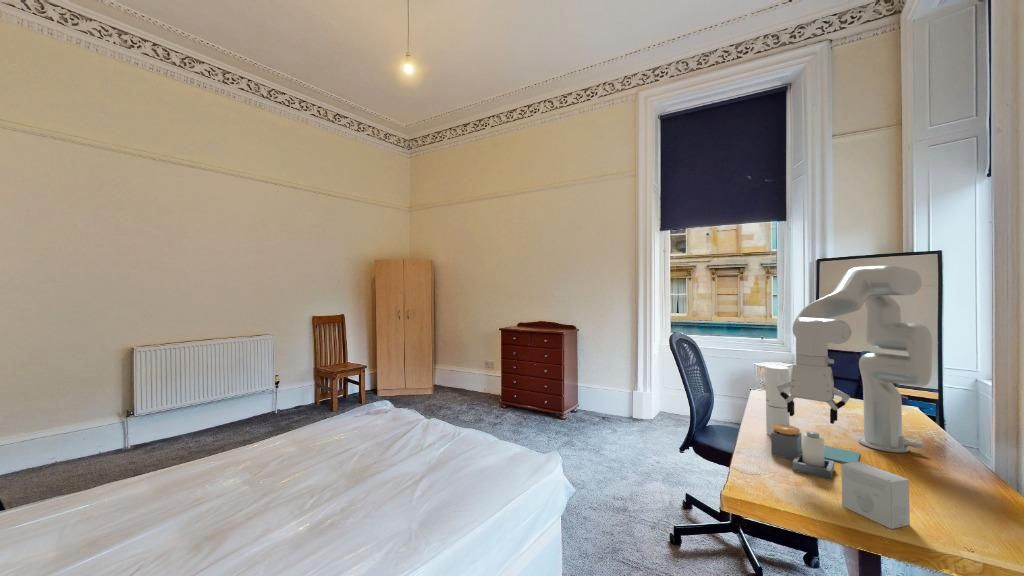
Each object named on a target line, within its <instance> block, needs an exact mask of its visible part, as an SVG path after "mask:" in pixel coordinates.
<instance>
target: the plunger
mask: <svg viewBox="0 0 1024 576" xmlns="http://www.w3.org/2000/svg"><path fill="white" fill-rule="evenodd" d="M773 429H774V430H775V431H777V432H779V433H780V434H784V435H789V436H793V435H797V434H800V433H801V432H800V428H798V427H797V426H793V425H784V424H776V425H774V426H773Z"/></svg>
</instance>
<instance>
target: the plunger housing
mask: <svg viewBox="0 0 1024 576" xmlns="http://www.w3.org/2000/svg"><path fill="white" fill-rule="evenodd" d="M802 434H803V432H800V434H797V435H793V436H789V435H784V434H780V433H779V432H777V431H775V430H773V432H772V433H771V436H770V439H771V443H770V444H771V446H770V447H771V450H770V451H771V455H772V456H775V455H776V457H780V458H784V459H789V460H792V461H793V460H794V459H795V457H796V456H797V454H798V453H800V454H802Z"/></svg>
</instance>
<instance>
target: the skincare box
mask: <svg viewBox="0 0 1024 576" xmlns="http://www.w3.org/2000/svg"><path fill="white" fill-rule="evenodd" d="M840 464H841V466H840V467H841V498H842V499H841V506H842V508H845V509H847V510H850V511H853V512H854V513H856V514H858V515H860V516H862V517H865V518H867V519H869V520H871V521H873V522H875V523H877V524H879V525H882V526H884V527H886V528H888V529H890V530H893V529H894V530H895V529H898V528H902V527H906V526H909V525H911V522H910V521H911V520H910V518H911V517H910V479H909V478H906V477H903V476H900V475H898V474H894V473H893V472H889V471H886V470H883V469H880V468H877V467H876V466H872V465H869V464H866V463H865V462H861V461H858V462H851V463H840Z"/></svg>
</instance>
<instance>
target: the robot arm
mask: <svg viewBox="0 0 1024 576" xmlns="http://www.w3.org/2000/svg"><path fill="white" fill-rule="evenodd" d="M922 281H923V280H922V277H921V275H920V274H919V272H917V271H916V270H915V269H912V268H908V267H904V266H898V265H889V264H888V265H869V266H868V265H867V266H856V267H852V268H850V269H848V270H846V272H845V273H844V274H843V276H842V277H841V279H840V280H839V282H838V283H837V284H836V286H835V287H834V288H833V290H832V292H831V293H830V294H828V295H825V296H823V297H820V298H819V299H817V300H815V301H813V302H811V303H809V304H807V305H806V306H805V307H803V308H802V309H801V311H800V312H799V313H798V315H797V316H796V318H795V320H794V322H793V324H792V334H793V336H794V337H795V363H793V365H792V368H791V375H790V381H789V382H788V383H785V384H781V385H778V386H777V389H778V391H779V392H780V395H781V396H782V397H783V398H784V399H785V400H786V402H787V412H789V417H793V416H794V415H795V401H794V399H796V398H797V399H803V400H809V401H816V402H822V403H827V404H828V405H829V406H830V409H829V423H830V424H831V425H834V424H835V422H837V421H838V410H840V409H841V408H842V407H844V406H845V405H846V404H847V402H849V400H850V398H851V397H850V395H849V394H847V393H845V392H843V391H842V390H839V388H836V387H835V386H834V385H835V384H834V375H833V370H832V367H831V366H828V365H831V364H832V365H834V364H835V360H834V359H831V358H830V357H829V356H828V344H829V345H831V344H832V345H841V344H844V343H847V342H848V341H849V340H850V339H851V336H852V328H851V326H850V324H849V323H847V322H846V321H844V320H842V319H836V318H833V317H838V316H843V315H849V314H852V313H855V312H857V311H859V310H861V308H862V307H863V305H864V304H865V308H866V324H865V325H866V327H865V328H866V330H865V336H866V337H865V339H866V342H867V344H868V345H869V346H870V347H872V348H874V349H880V350H887V351H888V350H889V351H897V352H907V353H908V355H902V354H895V353H882V352H868V353H865V354H863V355H862V356H861V357H860V358H859V359H858V360H859V361H858V368H859V371H860V376H861V380H862V392H863V393H862V394H863V401H862V402H863V435H861V436H858V440H857V441H858V443H860V444H861V445H863V446H865V447H868V448H871V449H874V450H879V451H882V452H887V453H888V452H889V453H896V454H898V453H899V454H901V453H902V454H904V453H907V452H909V451H910V447H913V448H917V449H923V442H920V441H917V440H916V439H909V438H907V437H905V436H904V433H903V417H902V416H903V409H902V408H903V407H902V395H901V393H900V391H899V390H898V388H897V387H896V386H895V385H894V384H898V385H903V386H905V385H906V386H910V387H918V388H921V387H926V386H928V384H929V383H930V382H931V380H932V373H933V372H932V370H933V369H932V368H933V336H932V333H931V330H930V329H929V327H927V326H926V325H923V324H922V323H917V322H916V323H913V322H902V319H901V312H902V311H901V305H899V303H898V302H897V301H896V300H895V299H894V297H892V296H913V295H916V294H917V293H918V292H919V291H920V290H921V289H922V284H923V282H922ZM787 387H789V395H788V394H786V393H785V391H784V388H787ZM835 395H837V396H839V397H841V400H839V401H838V402H836V401H835V400H834V399H835Z"/></svg>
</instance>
